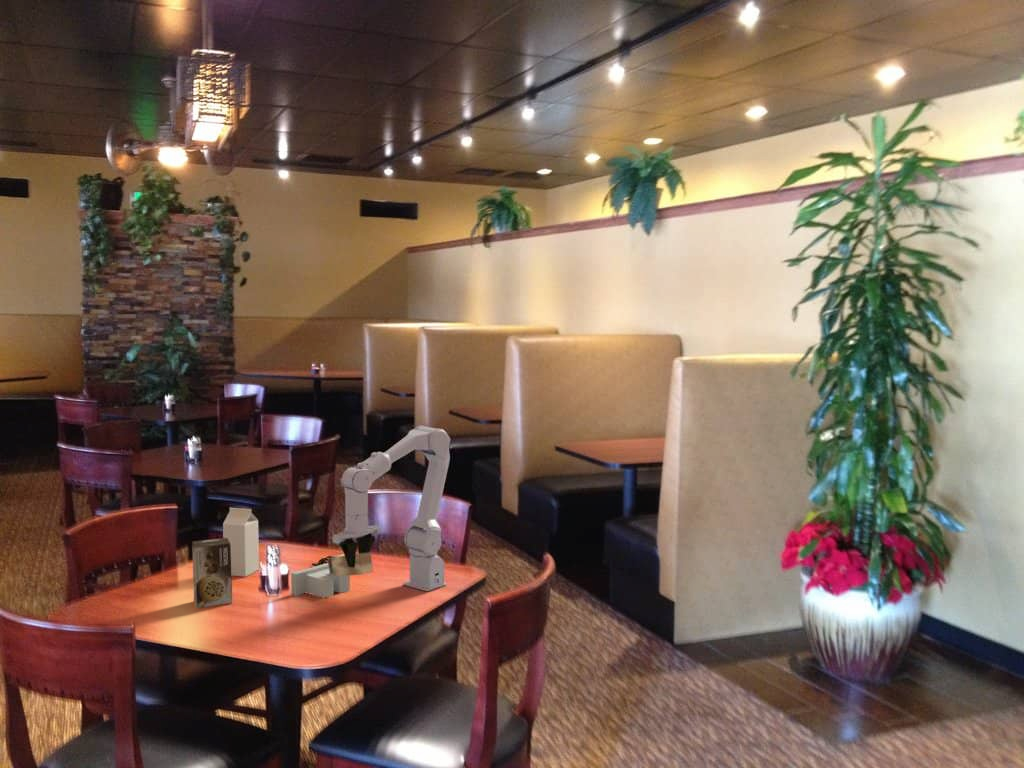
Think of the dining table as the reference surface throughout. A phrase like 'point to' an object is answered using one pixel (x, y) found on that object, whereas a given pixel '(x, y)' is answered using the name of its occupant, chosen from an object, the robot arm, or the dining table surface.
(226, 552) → the grey food box
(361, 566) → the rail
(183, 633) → the dining table surface
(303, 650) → the dining table surface
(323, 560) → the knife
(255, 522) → the milk carton
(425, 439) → the robot arm
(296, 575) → the grey stepped block
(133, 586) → the dining table surface
